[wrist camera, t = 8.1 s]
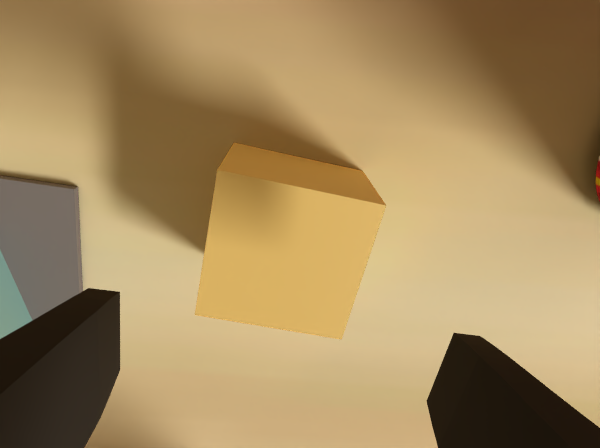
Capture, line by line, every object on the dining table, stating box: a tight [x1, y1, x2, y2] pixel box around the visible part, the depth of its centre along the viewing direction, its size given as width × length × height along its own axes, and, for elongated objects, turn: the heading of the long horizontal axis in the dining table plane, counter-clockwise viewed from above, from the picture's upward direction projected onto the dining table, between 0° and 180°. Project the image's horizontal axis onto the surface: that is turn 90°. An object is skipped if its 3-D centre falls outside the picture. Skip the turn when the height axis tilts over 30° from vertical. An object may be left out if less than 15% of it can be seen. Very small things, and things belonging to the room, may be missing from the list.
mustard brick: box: [195, 143, 386, 339], centre depth 14 cm, size 5×5×4 cm
